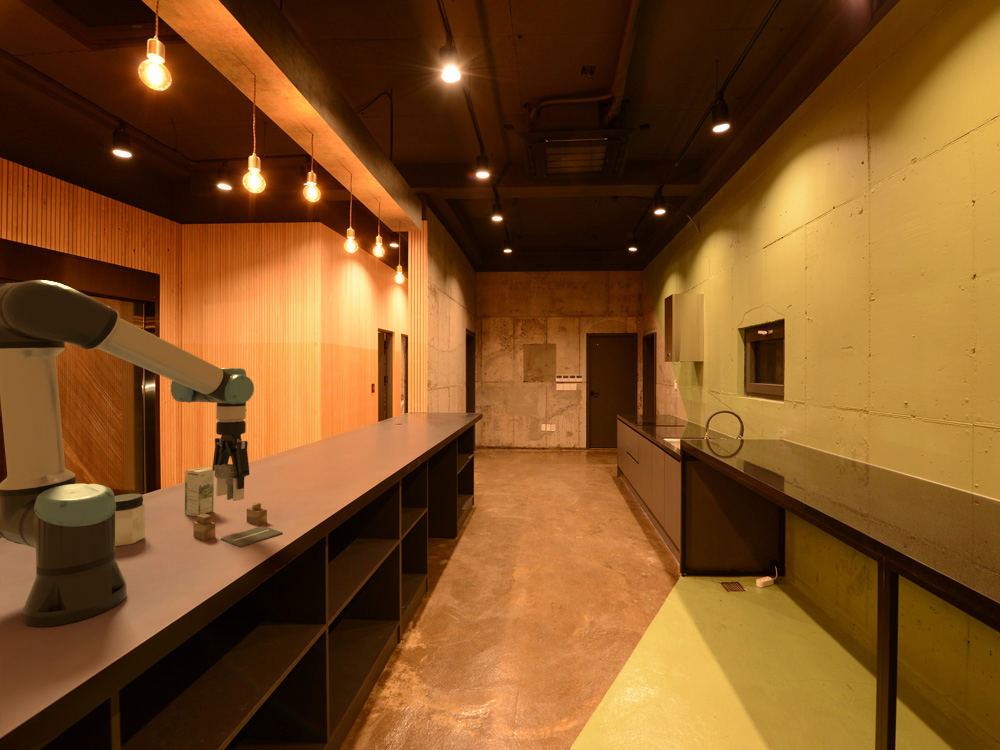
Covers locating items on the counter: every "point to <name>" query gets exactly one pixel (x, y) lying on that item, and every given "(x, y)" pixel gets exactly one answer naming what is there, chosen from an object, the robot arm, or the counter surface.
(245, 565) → the counter surface
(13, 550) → the counter surface
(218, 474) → the mechanical component
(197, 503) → the syrup box
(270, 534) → the mat
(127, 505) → the jar
